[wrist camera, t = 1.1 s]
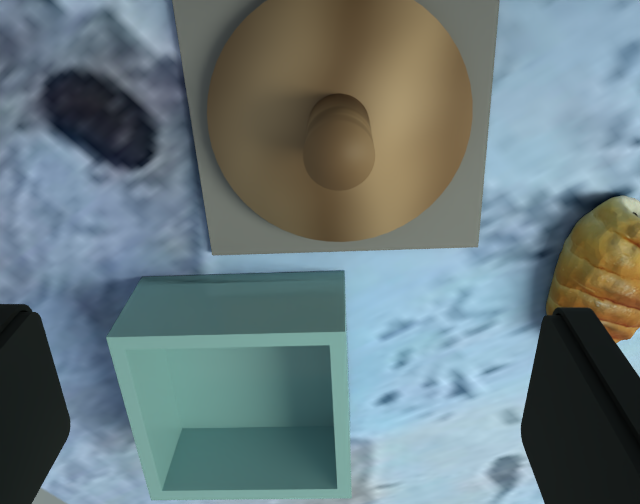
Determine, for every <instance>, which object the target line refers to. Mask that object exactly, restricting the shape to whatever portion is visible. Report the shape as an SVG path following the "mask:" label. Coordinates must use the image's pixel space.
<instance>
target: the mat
mask: <svg viewBox="0 0 640 504" xmlns="http://www.w3.org/2000/svg"><path fill="white" fill-rule="evenodd" d="M265 1H267V0H172V3H173V9H174V15H175V22H176V28H177V34H178V41H179V47H180V53H181V60H182V66H183V72H184V79H185V85H186V91H187V98H188V104H189V110H190V117H191V123H192V130H193V136H194V142H195V149H196V155H197V161H198V168H199V174H200V180H201V187H202V193H203V199H204V206H205V212H206V218H207V225H208V231H209V237H210V244H211V250H212V255H241V254H273V253H305V252H337V251H369V250H401V249H434V248H466V247H478V242H479V230H480V218H481V207H482V195H483V184H484V172H485V161H486V149H487V138H488V126H489V115H490V103H491V92H492V80H493V69H494V57H495V46H496V34H497V23H498V11H499V0H414V1H416V2H417V3H419V4H420V5H422V6H423V7H424V8H425V9H426V10H428V11H429V12H430V13H431V14H432V15H433V16H434V17H435V18H436V19H437V20H438V21H439V22H440V23H441V25H442V26H443V27H444V28H445V29H446V31H447V32H448V33H449V35H450V36H451V38H452V40H453V41H454V43H455V45H456V46H457V48H458V50H459V52H460V54H461V57H462V59H463V61H464V64H465V66H466V69H467V73H468V77H469V80H470V85H471V93H472V100H473V118H472V126H471V133H470V138H469V141H468V145H467V149H466V152H465V155H464V157H463V159H462V162H461V164H460V167H459V169H458V170H457V172H456V174H455V175H454V177H453V179H452V181H451V182H450V184H449V185H448V186H447V188H446V189H445V190H444V192H443V193H442V194H441V195H440V196H439V197H438V199H437V200H436V201H435V202H434V203H433V204H432V205H431V206H430V207H429V208H427V209H426V210H425V211H424V212H422V213H421V214H420V215H419V216H418V217H416V218H414V219H413V220H411V221H410V222H408V223H407V224H405V225H403V226H401V227H399V228H397V229H395V230H393V231H391V232H388V233H385V234H382V235H379V236H377V237H373V238H368V239H364V240H359V241H349V242H327V241H320V240H313V239H309V238H305V237H301V236H297V235H295V234H292V233H290V232H287V231H285V230H282V229H280V228H279V227H277V226H275V225H273V224H271V223H269V222H268V221H266V220H265V219H263V218H262V217H261V216H259V215H258V214H256V213H255V212H254V211H253V210H252V209H251V208H250V207H249V206H247V205H246V204H245V203H244V202H243V201H242V200H241V198H240V197H239V196H238V195H237V194H236V193H235V191H234V190H233V189H232V187H231V186H230V184H229V183H228V181H227V180H226V178H225V177H224V175H223V173H222V171H221V169H220V167H219V165H218V163H217V160H216V157H215V154H214V152H213V149H212V146H211V141H210V136H209V131H208V121H207V101H208V92H209V86H210V81H211V77H212V74H213V71H214V68H215V65H216V62H217V60H218V58H219V56H220V54H221V52H222V49H223V47H224V45H225V44H226V42H227V41H228V39H229V38H230V36H231V35H232V33H233V32H234V30H235V29H236V28H237V27H238V26H239V25H240V24H241V23H242V21H243V20H244V19H245V18H246V17H247V16H248V15H249V14H250V13H252V12H253V11H254V10H255V9H256V8H257V7H259V6H260V5H261V4H262V3H264V2H265Z"/></svg>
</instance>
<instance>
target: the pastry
mask: <svg viewBox="0 0 640 504" xmlns="http://www.w3.org/2000/svg"><path fill="white" fill-rule="evenodd" d="M557 307H588V308H591V309H592V310H593V311H594V313H595V314H596V315H597V317H598V318H599V320H600V321H601V323H602V324H603V326H604V327H605V328H606V330H607V331H608V333H609V334H610V336H611V337H612V338H613V340H614V341H615V343H617V342H619V341H621V340H627V339H630V338H631V337H632V336H633V335H634V333H635V332H636V330H637V329H638V328H639V327H640V202H639V201H638V200H636V199H635V198H630V197H627V196H617V197H613V198H610V199H608V200H607V201H605V202H604V203H602V204H600V205H599V206H597V207H596V208H595V209H593V210H592V211H591V212H589V213H587V214H586V215H585V216H583V217H582V218H581V219H580V220H579V221H578V222H577V223H576V225H575V227H574V228H573V230H572V232H571V233H570V235H569V236H568V238H567V239H566V240H565V242H564V245H563V249H562V251H561V253H560V255H559V259H558V262H557V265H556V267H555V272H554V276H553V279H552V283H551V286H550V290H549V294H548V299H547V303H546V313H547V315H552V314H553V311H554V310H555V309H556V308H557Z"/></svg>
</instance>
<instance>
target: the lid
mask: <svg viewBox="0 0 640 504" xmlns="http://www.w3.org/2000/svg"><path fill="white" fill-rule="evenodd" d="M472 118H473V100H472V93H471V85H470V80H469V77H468V73H467V69H466V66H465V64H464V61H463V59H462V57H461V54H460V52H459V50H458V48H457V46H456V45H455V43H454V41H453V40H452V38H451V36H450V35H449V33H448V32H447V31H446V29H445V28H444V27H443V26H442V25H441V23H440V22H439V21H438V20H437V19H436V18H435V17H434V16H433V15H432V14H431V13H430V12H429V11H428V10H426V9H425V8H424V7H423V6H422V5H420V4H419V3H417V2H416V1H414V0H267V1H265V2H264V3H262V4H261V5H260V6H259V7H257V8H256V9H255V10H254V11H253V12H252V13H250V14H249V15H248V16H247V17H246V18H245V19H244V20H243V21H242V23H241V24H240V25H239V26H238V27H237V28H236V29H235V30H234V32H233V33H232V35H231V36H230V38H229V39H228V41H227V42H226V44H225V45H224V47H223V49H222V52H221V54H220V56H219V58H218V60H217V62H216V65H215V68H214V71H213V74H212V77H211V81H210V86H209V92H208V101H207V121H208V131H209V136H210V141H211V146H212V149H213V152H214V154H215V157H216V160H217V163H218V165H219V167H220V169H221V171H222V173H223V175H224V177H225V178H226V180H227V181H228V183H229V184H230V186H231V187H232V189H233V190H234V191H235V193H236V194H237V195H238V196H239V197H240V198H241V200H242V201H243V202H244V203H245V204H246V205H247V206H249V207H250V208H251V209H252V210H253V211H254V212H255V213H256V214H258V215H259V216H261V217H262V218H263V219H265V220H266V221H268V222H269V223H271V224H273V225H275V226H277V227H279V228H280V229H282V230H285V231H287V232H290V233H292V234H295V235H297V236H301V237H305V238H309V239H313V240H320V241H327V242H349V241H359V240H364V239H368V238H373V237H377V236H379V235H382V234H385V233H388V232H391V231H393V230H395V229H397V228H399V227H401V226H403V225H405V224H407V223H408V222H410V221H411V220H413V219H414V218H416V217H418V216H419V215H420V214H421V213H422V212H424V211H425V210H426V209H427V208H429V207H430V206H431V205H432V204H433V203H434V202H435V201H436V200H437V199H438V197H439V196H440V195H441V194H442V193H443V192H444V190H445V189H446V188H447V186H448V185H449V184H450V182H451V181H452V179H453V177H454V175H455V174H456V172H457V170H458V169H459V167H460V164H461V162H462V159H463V157H464V155H465V152H466V149H467V145H468V141H469V138H470V133H471V126H472Z"/></svg>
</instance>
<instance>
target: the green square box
mask: <svg viewBox="0 0 640 504" xmlns="http://www.w3.org/2000/svg"><path fill="white" fill-rule="evenodd" d="M106 339H107V342H108V346H109V350H110V353H111V357H112V361H113V364H114V368H115V371H116V375H117V379H118V382H119V386H120V389H121V393H122V397H123V400H124V404H125V408H126V411H127V415H128V418H129V422H130V426H131V429H132V433H133V436H134V440H135V444H136V447H137V451H138V455H139V458H140V462H141V465H142V469H143V473H144V476H145V480H146V484H147V487H148V491H149V494H150V498H151V500H225V499H331V498H352V496H351V449H350V411H349V384H348V356H347V328H346V301H345V273H344V271H320V272H286V273H252V274H218V275H184V276H150V277H142V278H141V280H140V281H139V283H138V285H137V286H136V288H135V290H134V291H133V293H132V295H131V296H130V298H129V300H128V301H127V303H126V305H125V307H124V308H123V310H122V312H121V313H120V315H119V317H118V318H117V320H116V322H115V323H114V325H113V327H112V328H111V330H110V332H109V333H108V335H107V337H106Z"/></svg>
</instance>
